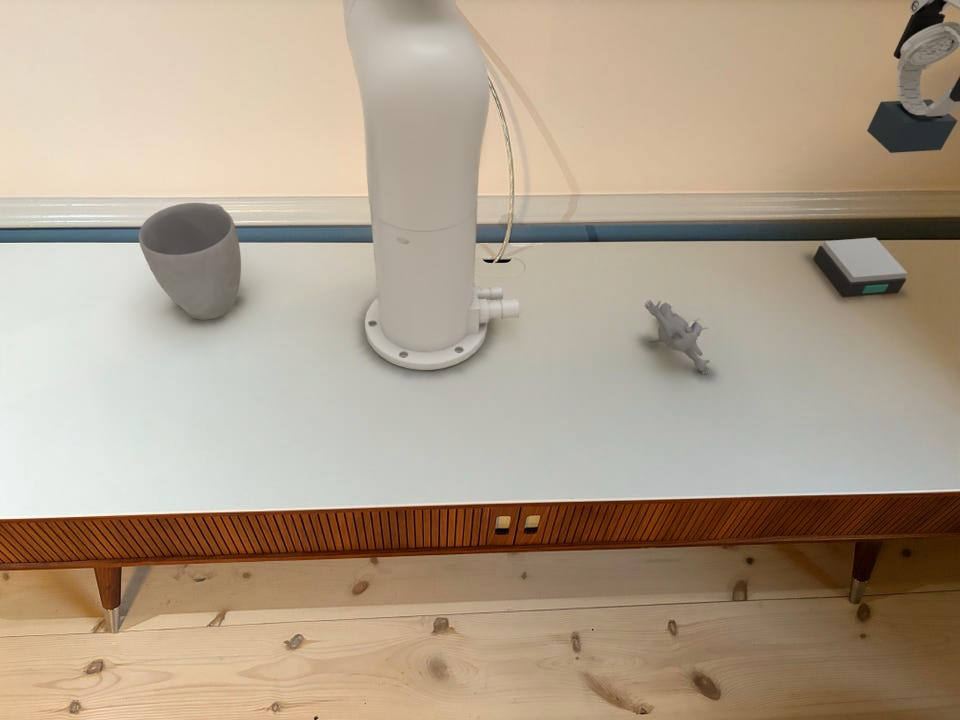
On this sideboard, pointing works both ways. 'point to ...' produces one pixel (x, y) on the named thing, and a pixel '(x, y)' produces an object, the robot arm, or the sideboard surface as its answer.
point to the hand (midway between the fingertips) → (935, 76)
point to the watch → (918, 96)
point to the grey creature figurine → (678, 332)
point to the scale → (860, 267)
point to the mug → (194, 257)
